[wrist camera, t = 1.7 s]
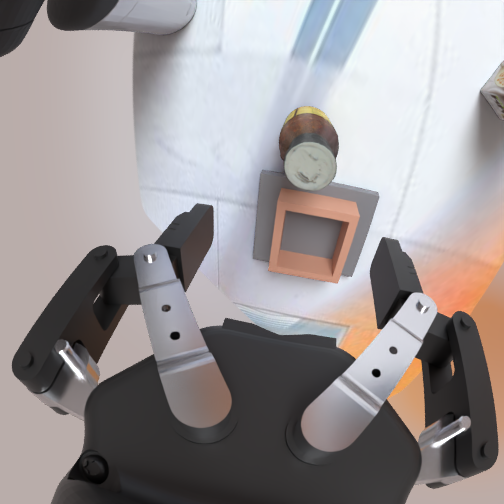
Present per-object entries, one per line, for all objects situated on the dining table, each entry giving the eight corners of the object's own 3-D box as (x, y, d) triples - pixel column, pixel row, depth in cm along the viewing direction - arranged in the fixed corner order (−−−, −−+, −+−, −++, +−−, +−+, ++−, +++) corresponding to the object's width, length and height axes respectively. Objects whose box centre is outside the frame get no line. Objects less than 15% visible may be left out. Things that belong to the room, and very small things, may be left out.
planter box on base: (254, 253, 51) (247, 275, 46) (262, 170, 41) (254, 185, 36) (351, 271, 49) (353, 294, 44) (377, 192, 39) (385, 210, 34)
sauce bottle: (298, 152, 38) (283, 219, 23) (278, 115, 35) (246, 151, 20) (339, 136, 35) (359, 192, 20) (320, 97, 33) (327, 117, 17)
